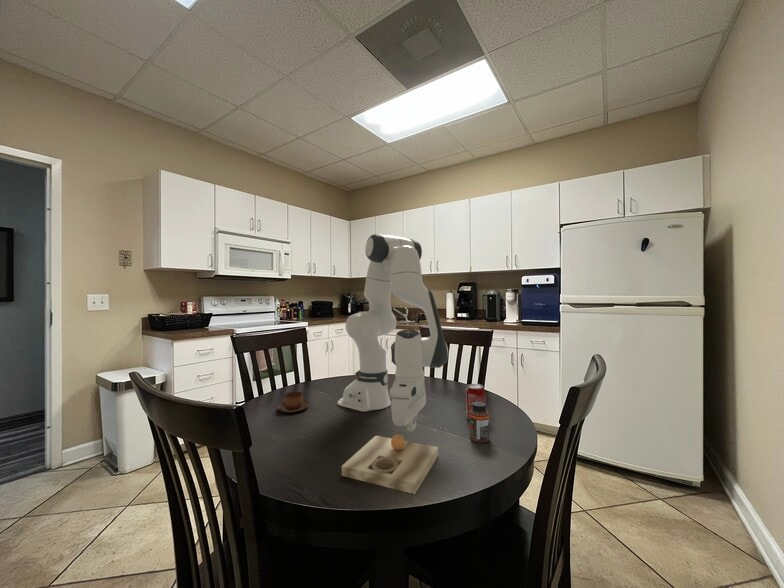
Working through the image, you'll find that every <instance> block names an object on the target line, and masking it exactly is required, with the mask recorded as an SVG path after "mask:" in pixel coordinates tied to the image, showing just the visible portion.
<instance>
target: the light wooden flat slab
mask: <svg viewBox="0 0 784 588" xmlns="http://www.w3.org/2000/svg"><path fill="white" fill-rule="evenodd" d="M392 438H393V437H392ZM392 438H391V437H385V436H382V435H381V436H380V435H375V436H374V437H372V438H371V439H370V440H368V441H367V443H365V444H364V445H363V446H362V447H361V448H360V449H359V450H357V451H356V452H355V453H354V454H353V455H352V456H351V457H350V458H349V459H347V461H345V463H343V464H342V465H341V477H346V478H350V479H353V480H357V481H362V482H365V483H369V484H373V485H376V486H382V487H385V488H389V489H392V490H396V491H400V492H404V493H407V492H408V493H407V494H411V493H413V494H412V495H416V493H417V492H418V490H419V489H420V486H421V485H422V483H423V481H425V479H426V477H427V475H428V474H429V472H430V470H431V469H432V467H433V466H434V464H435V462H436V461H437V458H439V447H438V446H434V445H429V444H423V443H418V442H412V441H407V440H405V446H404V447H403V449H401V450H395V449H394V448H393V447H392V445H391V439H392Z"/></svg>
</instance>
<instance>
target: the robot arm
mask: <svg viewBox="0 0 784 588" xmlns="http://www.w3.org/2000/svg"><path fill="white" fill-rule="evenodd" d="M422 254H423V250H422V246H421V243H419V242H418V241H417V240H414V239H412V238H410V239H409V238H406V237H402V236H400V235H399V236H398V235H390V234H389V235H387V234H381V233H375V234H371V235H370V236H369V237H368V238H367V241H366V244H365V256H366V257H367V259H368V260H369V265H368V267H367V273H366V278H365V284H364V291H363V295H364V298H365V299H366V300H367V301H368V305H369V307H368V308H369V309H368V311H366V310H365V311H358V312H357V313H354V314H351V315H350V316H348V318H347V319H346V321H345V329H346V333H347V335H348V336H349V337H350V338H351V339H352V341H354V342H355V345H356V347H357V350H358V357H359V370H357V371H355V372H354V377H355V378H356V379H354V380H353V381H352V382H350V384H348V385H347V386H346V387H345V388H344V389H343V393H342V397H341V398H339V400H338V401H337V406H341V407H343V408H349V409H352V410H355V411H359V412H369V411H375V410H376V411H377V410H382V409H385V408H388V407H391V419H392V420H391V421H392V423H393V425H394V426H398V427H406V431H407V432H411V433H412V432H413V431H414V430H415V429H416V427H417V419H418V418H417V417H418V413H419V412H420V411H421V410H422V409H423V408H424V407H425V405H426V404H427V395H426V394H427V392H426V386H425V383H426V382H425V371H424V368H434V369H435V368H437V369H440V368H442V367H443V366H444V365H445V364H446V363H447V362H448V360H449V347H448V345H447V342H446V338H445V336H444V332H443V329H442V323H441V320H440V319H441V318H440V317H439V312H438V308H437V304H436V301H435V297H434V294H433V292H432V291H431V289H428V288H427V286H426V285H425V284H424V282H423V277H422V265H421V258H422ZM392 294H393V295H394V296H395V297H396V298H397V299H398V300H400V301H401V302H403V303H405V304H409V305H412V306H415V307H417V308H419V309H420V310H422V311H423V312H424V313H425V317H426V320H427V324H428V328H429V334H430V336H427V337H425V336H424V337H422V335H421V332H420V331H418V330H415V329H409V328H407V329H402V330H399V331H397V332H396V335H395V339H394V341H393V343H391V345H390V349H391V363H393V364H394V365H395V367H396V368H395V373H394V376H395V377H394V382H393V384H392V386H391V387H390V388H389V389H388V382H389V381H388V380H389V378H388V377H389V375H388V369H387V352H386V350H385V348H384V347H382V346H381V345H380V342H379V337H382V336H385V335H389V334H390V333H392V332H393V331H394V330H395V329H396V327H397V317H396V315H395V314H394V313H393V311H392V303H391V298H392Z"/></svg>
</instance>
